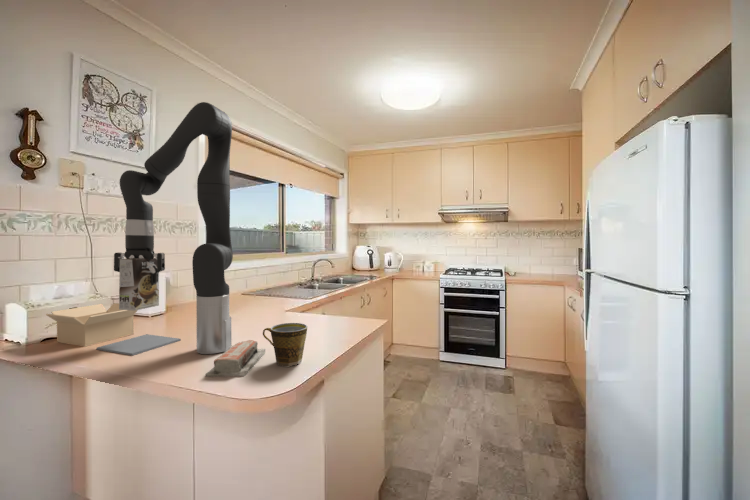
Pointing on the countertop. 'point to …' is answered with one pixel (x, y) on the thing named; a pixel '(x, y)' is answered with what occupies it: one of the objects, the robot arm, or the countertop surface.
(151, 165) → the robot arm
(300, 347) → the ceramic cup
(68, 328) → the carton
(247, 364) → the packaged product
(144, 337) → the mat
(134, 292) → the coffee box
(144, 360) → the countertop surface
